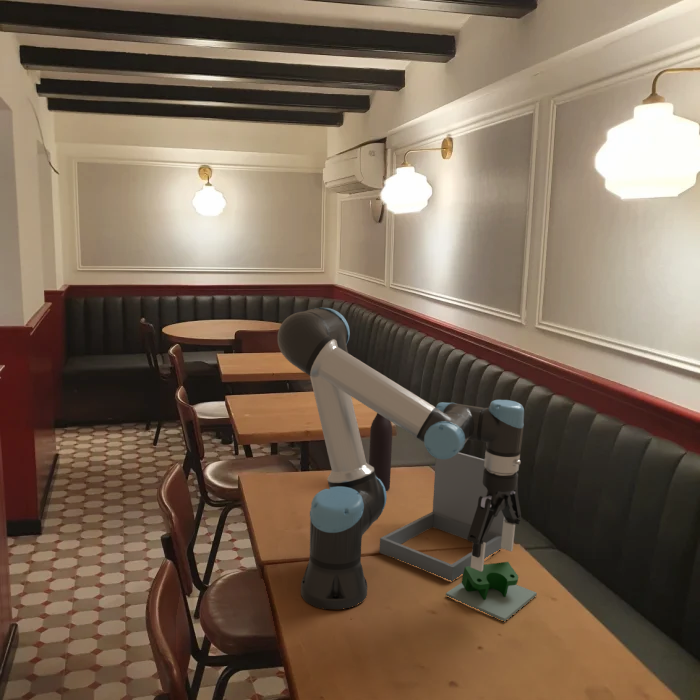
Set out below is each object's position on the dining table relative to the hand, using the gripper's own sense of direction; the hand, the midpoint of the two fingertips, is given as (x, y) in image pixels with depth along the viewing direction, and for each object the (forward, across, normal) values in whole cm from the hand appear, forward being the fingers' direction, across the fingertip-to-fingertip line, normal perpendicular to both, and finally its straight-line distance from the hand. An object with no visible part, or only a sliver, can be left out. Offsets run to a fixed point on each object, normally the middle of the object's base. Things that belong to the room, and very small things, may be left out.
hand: (492, 558), depth 156 cm
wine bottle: (+10, +34, +59) cm, 69 cm away
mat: (+9, 0, -1) cm, 9 cm away
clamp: (+8, 0, 0) cm, 9 cm away
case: (+10, +11, +20) cm, 25 cm away
